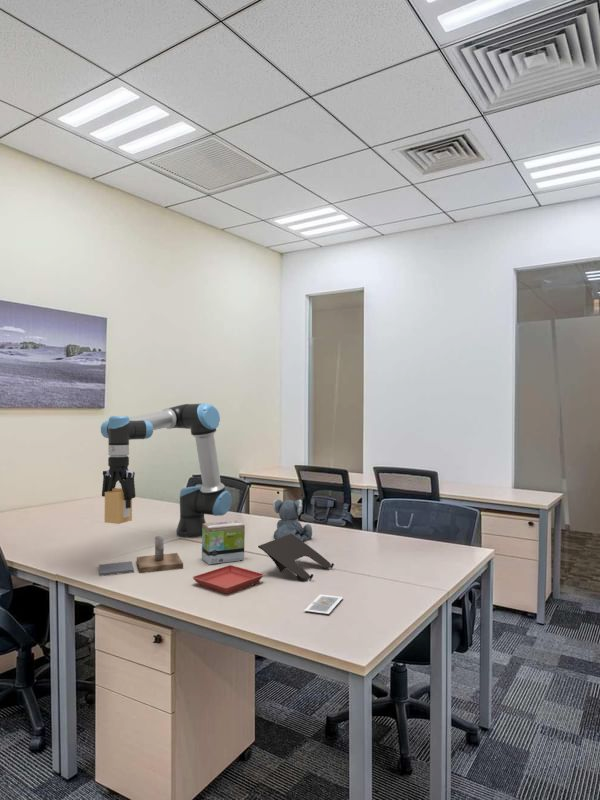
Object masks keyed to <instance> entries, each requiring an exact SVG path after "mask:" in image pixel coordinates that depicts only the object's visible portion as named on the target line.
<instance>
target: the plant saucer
mask: <svg viewBox="0 0 600 800" xmlns="http://www.w3.org/2000/svg"><path fill="white" fill-rule="evenodd" d="M264 575H265V574H264V573H261V572H258V571H254V570H249V569H247V568H244V567H239V566H236V565H231V564H230V565H226V566H222V567H218V568H215V569H213V570H210V571H206V572H203V573H200V574H197V575H194V576H192V579H193V581H195V582H196V584H198V585H199V586H202V587H205V588H208V589H211V590H214V591H217V592H220V593H223V594H227V595H228V594H230V593H234V592H235V591H239V590H241V588H242V589H244V588H247V587H250V586H253V585H255V583H256V584H257V583H259V581H260V580H261V579H262V578H263V577H264ZM252 584H253V585H252ZM249 585H250V586H249Z"/></svg>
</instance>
